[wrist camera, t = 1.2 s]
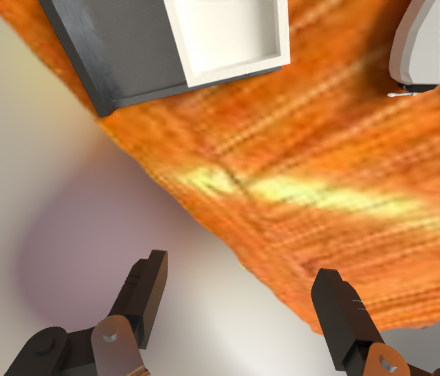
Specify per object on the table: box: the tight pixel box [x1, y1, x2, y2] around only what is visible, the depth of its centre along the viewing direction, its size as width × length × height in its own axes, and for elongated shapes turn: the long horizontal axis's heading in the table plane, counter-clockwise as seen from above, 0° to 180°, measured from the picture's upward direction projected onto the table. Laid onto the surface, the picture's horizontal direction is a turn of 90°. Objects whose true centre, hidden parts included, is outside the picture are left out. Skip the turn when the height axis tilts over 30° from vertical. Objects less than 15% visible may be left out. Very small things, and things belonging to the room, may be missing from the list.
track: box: [39, 0, 282, 118], centre depth 25 cm, size 13×22×4 cm, turn 103°
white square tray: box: [164, 0, 290, 87], centre depth 22 cm, size 10×10×6 cm
